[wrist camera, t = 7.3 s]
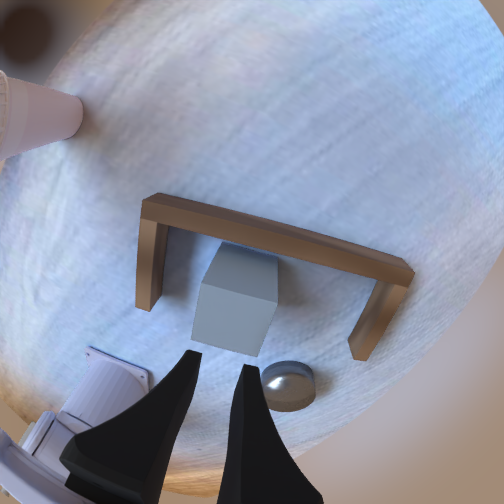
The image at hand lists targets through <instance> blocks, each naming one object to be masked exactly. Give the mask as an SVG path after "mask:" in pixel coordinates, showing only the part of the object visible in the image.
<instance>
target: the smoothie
mask: <svg viewBox="0 0 504 504" xmlns="http://www.w3.org/2000/svg"><path fill="white" fill-rule="evenodd" d="M82 119H83V105H82V102H81V101H80V99H79V98H78V97H76V96H73V95H70V94H67V93H63V92H60V91H57V90H54V89H50V88H47V87H44V86H40V85H37V84H33V83H29V82H25V81H22V80H18V79H14V78H10V77H7V76H6V74H5V73H4V72H3V71H1V70H0V161H2V160H4V159H7V158H9V157H12V156H14V155H17V154H20V153H22V152H25V151H28V150H31V149H34V148H37V147H40V146H43V145H46V144H50V143H53V142H57V141H60V140H64V139H67V138H70V137H72V136H73V135H74V134H75V133H76V132H77V131H78V129H79V127H80V125H81V123H82Z"/></svg>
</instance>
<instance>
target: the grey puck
mask: <svg viewBox="0 0 504 504" xmlns="http://www.w3.org/2000/svg"><path fill="white" fill-rule="evenodd" d="M261 383H262V388H263V392H264V395H265V399H266V402H267V405H268V408H269V409H271V410H274V411H279V412H293V411H298V410H301V409H303V408H305V407H307V406H309V405H310V404H311V403H312V402H313V401H314V399H315V395H316V394H315V385H314V376H313V372H312V370H311V369H310V368H309V367H308V366H307V365H305V364H303V363H301V362H297V361H281V362H277V363H274V364H272V365H270V366H268V367H267V368H266V369H265V370H264V371H263V372H262V375H261Z"/></svg>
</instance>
